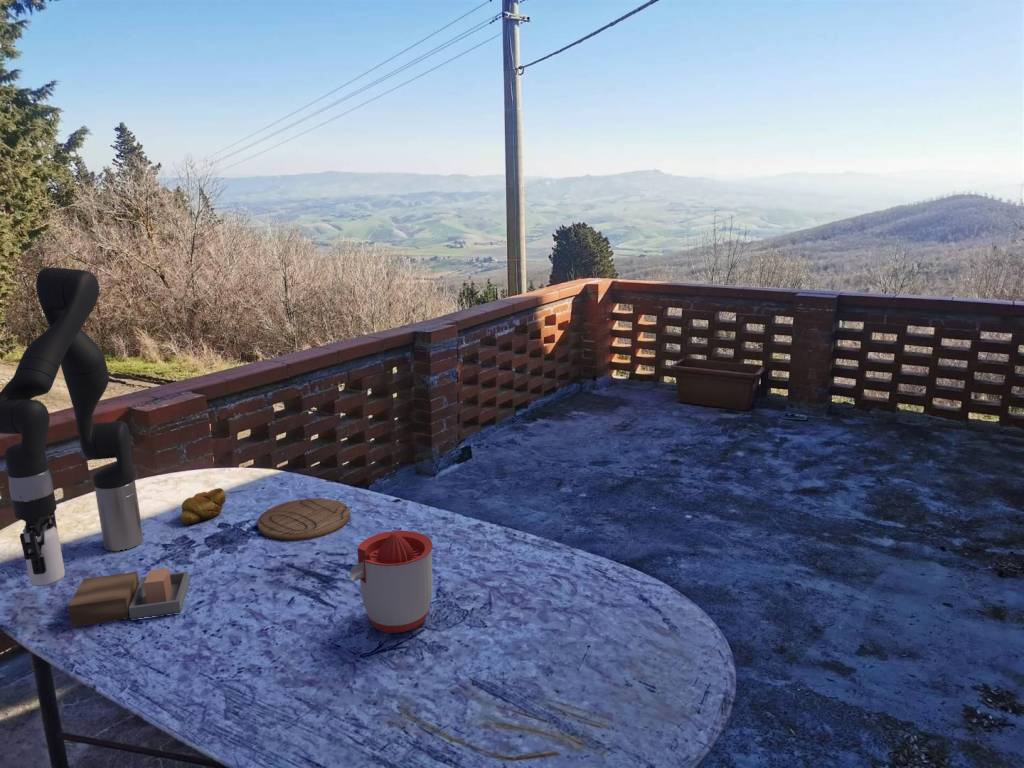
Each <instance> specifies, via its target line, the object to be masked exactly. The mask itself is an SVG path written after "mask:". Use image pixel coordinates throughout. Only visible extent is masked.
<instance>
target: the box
mask: <svg viewBox="0 0 1024 768" xmlns="http://www.w3.org/2000/svg"><path fill="white" fill-rule="evenodd" d="M146 577H147V576H142V577H141V578H140V581H139V585H138V587H137V590H136V592H135V594H134V597H133V599H132V602H131V604H130V606H129V614H130V618H129V620H132V619H138V618H144V617H152V616H161V615H167V614H174V613H180V612H181V610H182V611H183V608H182V606H183V607H184V605H183V602H184V603H185V601H184V599H185V600H186V598H185V596H186V597H187V594H186V593H188V590H189V587H188V586H190V584H191V583H190V574H189V570H186V571H179V572H178V571H177V572H171V573H170V579H171V586H172V594H171V596H170V599H169V601H165V602H158V603H151V604H147V602H146V595H145V588H144V582H145V580H146ZM187 589H188V590H187ZM181 613H182V612H181Z"/></svg>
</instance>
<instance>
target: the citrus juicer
mask: <svg viewBox="0 0 1024 768" xmlns="http://www.w3.org/2000/svg"><path fill="white" fill-rule="evenodd" d="M433 545H434V544H433V542H432V540H431V538H429V537H428V536H427V535H426V534H423V533H420V532H416V531H411V530H410V531H409V530H391V531H384V532H380V533H377V534H373V535H372V536H369V537H367V538H365V539H364V540H362V542H360V543H359V545H358V547H357V562H358V563H357V564H355V565H353V566H352V568H351V569H350V573H349V578H350V580H351V581H352V582H355V581H359V582H360V583H359V584H360V592H361V593H360V594H361V599H362V603H363V606H364V609H365V612H366V615H367V618H368V620H369V621H370V623H371V624H372V626H373V627H374V628H375V629H377V630H379V631H381V632H383V633H391V634H392V633H393V634H396V633H397V634H398V633H405V632H409V631H412V630H414V629H416V628H419V627H420V626H421V625H422V624H423V623H424V621H425V620H426V619H427V616H428V614H429V611H430V606H431V601H432V598H433V590H434V589H433V585H434V583H433V559H432V557H433V555H432V550H433Z"/></svg>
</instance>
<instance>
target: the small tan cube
mask: <svg viewBox="0 0 1024 768" xmlns="http://www.w3.org/2000/svg"><path fill="white" fill-rule="evenodd" d="M145 577H146V580H145V582H144V588H145V595H146V602H147V604H151V603H158V602H165V601H169V599H170V596H171V594H172V586H171V579H170V567H166V568H158V569H157V568H156V569H150V570H149V572H148V573H147V576H145Z"/></svg>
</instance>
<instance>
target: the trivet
mask: <svg viewBox="0 0 1024 768" xmlns="http://www.w3.org/2000/svg"><path fill="white" fill-rule="evenodd" d="M350 519H351V512H350V507H349V506H348V505H347V504H345V503H343V502H341V501H339V500H336V499H331V498H320V497H319V498H316V497H315V498H302V499H295V500H291V501H287V502H283V503H280V504H278V505H274V506H273V507H271V508H269V509H266V511H264V512H263V513H261V515H260V516H259V517H258V519H257V528H258V531H259V533H260V534H261V535H263V536H264V537H265V538H269V539H273V540H277V541H284V542H285V541H286V542H292V541H293V542H296V541H299V542H300V541H306V540H314V539H317V538H321V537H322V538H323V537H325V536H327V535H331V534H334V533H336V532H338V531H339V530H341V529H342V528H343V529H344V527H345V526H346V525H347V524H348V523H349V522H350Z"/></svg>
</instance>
